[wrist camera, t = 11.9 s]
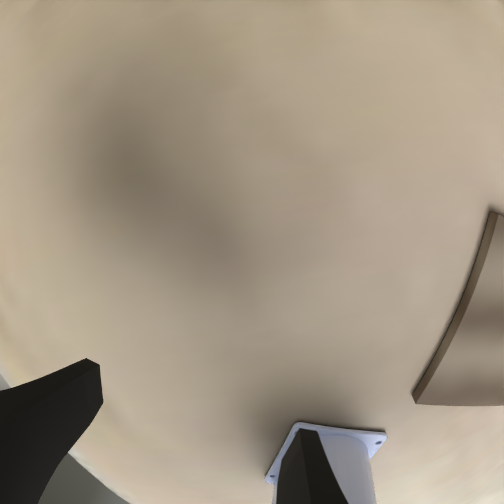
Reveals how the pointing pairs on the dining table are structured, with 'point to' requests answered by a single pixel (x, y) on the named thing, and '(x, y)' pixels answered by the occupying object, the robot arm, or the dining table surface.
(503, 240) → the subfloor panel
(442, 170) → the dining table surface
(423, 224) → the dining table surface
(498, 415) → the dining table surface
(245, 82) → the dining table surface
